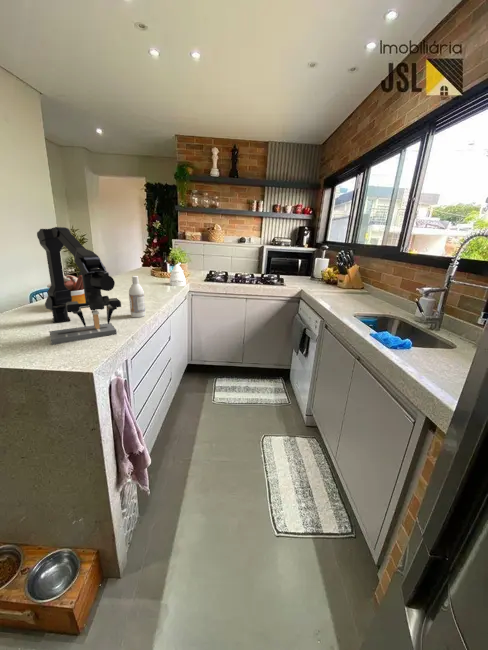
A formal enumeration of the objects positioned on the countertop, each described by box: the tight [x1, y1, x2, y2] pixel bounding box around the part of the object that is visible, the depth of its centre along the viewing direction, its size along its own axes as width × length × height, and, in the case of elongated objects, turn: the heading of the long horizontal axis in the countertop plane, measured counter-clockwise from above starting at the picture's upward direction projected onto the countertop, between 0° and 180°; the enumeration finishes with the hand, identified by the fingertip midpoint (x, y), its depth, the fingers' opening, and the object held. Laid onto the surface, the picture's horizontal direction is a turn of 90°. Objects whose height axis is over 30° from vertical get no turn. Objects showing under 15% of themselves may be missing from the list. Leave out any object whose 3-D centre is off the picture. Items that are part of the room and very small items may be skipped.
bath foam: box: [128, 275, 146, 318], centre depth 131 cm, size 7×7×20 cm
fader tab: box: [91, 310, 100, 329], centre depth 107 cm, size 3×2×7 cm, turn 37°
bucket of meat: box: [46, 274, 86, 304], centre depth 139 cm, size 20×16×20 cm
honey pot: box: [169, 262, 187, 287], centre depth 217 cm, size 13×13×18 cm
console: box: [48, 322, 118, 346], centre depth 106 cm, size 10×22×2 cm, turn 127°
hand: (97, 325), depth 108 cm, fingers open, 8 cm apart
